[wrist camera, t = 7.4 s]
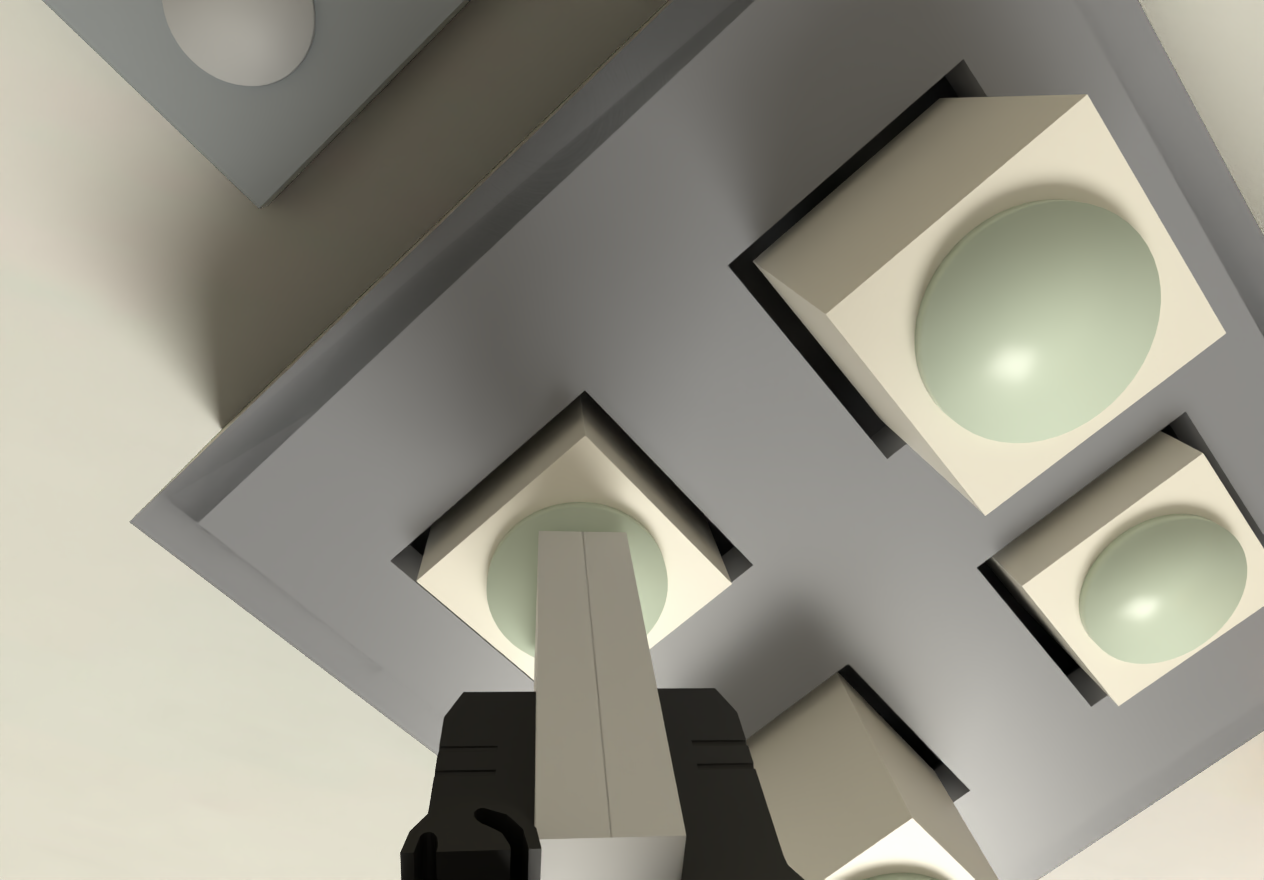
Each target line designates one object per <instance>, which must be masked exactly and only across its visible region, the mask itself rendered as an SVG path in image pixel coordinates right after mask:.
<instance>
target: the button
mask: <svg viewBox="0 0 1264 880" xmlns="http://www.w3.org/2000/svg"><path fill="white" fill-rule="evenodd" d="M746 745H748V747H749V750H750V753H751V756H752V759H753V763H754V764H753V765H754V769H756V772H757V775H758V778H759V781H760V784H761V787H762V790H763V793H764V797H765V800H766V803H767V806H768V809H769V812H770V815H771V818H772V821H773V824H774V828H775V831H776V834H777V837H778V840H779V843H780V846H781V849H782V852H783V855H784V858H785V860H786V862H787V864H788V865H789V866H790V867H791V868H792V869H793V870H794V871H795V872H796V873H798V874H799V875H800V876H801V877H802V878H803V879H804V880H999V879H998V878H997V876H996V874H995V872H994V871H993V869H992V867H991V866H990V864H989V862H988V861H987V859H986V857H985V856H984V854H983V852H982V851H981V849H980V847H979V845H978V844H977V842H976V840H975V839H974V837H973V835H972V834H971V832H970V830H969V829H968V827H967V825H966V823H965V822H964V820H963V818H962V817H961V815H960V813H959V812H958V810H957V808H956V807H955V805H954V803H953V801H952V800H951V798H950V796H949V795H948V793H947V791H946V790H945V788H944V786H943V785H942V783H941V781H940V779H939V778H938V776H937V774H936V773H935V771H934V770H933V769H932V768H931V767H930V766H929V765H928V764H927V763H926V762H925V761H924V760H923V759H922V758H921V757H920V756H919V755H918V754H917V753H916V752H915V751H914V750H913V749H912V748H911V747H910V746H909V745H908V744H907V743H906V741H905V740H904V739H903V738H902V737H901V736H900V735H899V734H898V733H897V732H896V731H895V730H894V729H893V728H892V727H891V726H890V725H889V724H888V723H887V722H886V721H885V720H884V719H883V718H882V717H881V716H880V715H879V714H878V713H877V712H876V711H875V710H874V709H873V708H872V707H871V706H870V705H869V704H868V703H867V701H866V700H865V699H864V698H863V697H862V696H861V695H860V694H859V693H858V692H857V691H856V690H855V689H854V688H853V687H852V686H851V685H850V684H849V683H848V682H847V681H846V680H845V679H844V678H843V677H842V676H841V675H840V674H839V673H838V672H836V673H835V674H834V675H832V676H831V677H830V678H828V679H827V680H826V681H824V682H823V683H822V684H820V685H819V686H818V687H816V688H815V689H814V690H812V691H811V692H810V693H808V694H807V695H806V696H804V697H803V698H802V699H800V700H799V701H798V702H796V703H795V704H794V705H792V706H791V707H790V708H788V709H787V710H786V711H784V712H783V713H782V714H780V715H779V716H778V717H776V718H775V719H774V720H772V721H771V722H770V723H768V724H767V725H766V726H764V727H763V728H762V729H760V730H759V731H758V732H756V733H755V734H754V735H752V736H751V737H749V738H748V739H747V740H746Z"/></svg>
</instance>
